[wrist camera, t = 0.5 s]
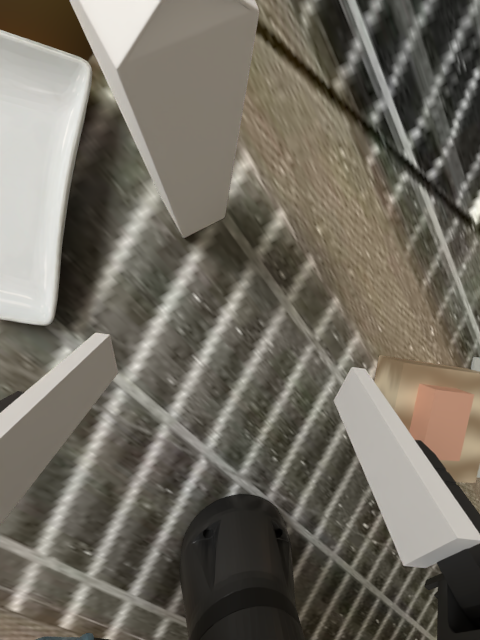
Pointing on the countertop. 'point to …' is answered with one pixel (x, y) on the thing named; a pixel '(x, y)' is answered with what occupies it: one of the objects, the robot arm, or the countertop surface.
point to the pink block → (441, 419)
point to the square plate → (36, 170)
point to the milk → (178, 91)
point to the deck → (405, 376)
